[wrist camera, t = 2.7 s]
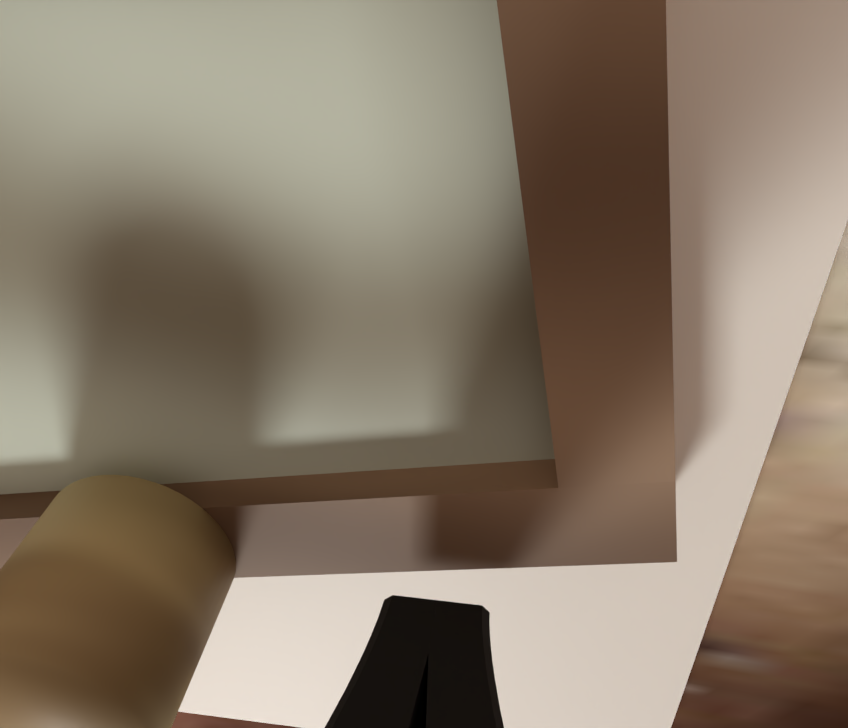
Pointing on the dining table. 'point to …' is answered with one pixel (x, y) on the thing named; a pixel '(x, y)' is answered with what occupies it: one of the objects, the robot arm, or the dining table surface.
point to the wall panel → (693, 409)
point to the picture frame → (317, 313)
